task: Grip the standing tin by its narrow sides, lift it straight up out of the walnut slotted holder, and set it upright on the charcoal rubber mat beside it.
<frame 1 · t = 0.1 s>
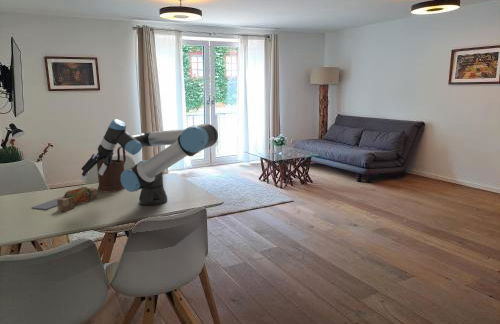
hand: (91, 176, 195), 15 cm above the table, tool tilted 35°, fingers open, 13 cm apart
tin: (78, 203, 200), on the table, touching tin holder
brown tapered container: (115, 187, 234), on the table
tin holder: (78, 204, 199), on the table
mat: (57, 202, 202), on the table
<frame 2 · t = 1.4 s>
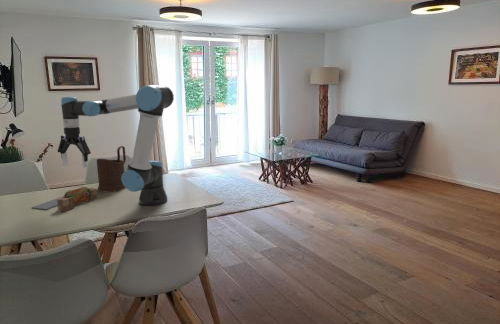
hand: (75, 166, 194), 21 cm above the table, tool pointing down, fingers open, 13 cm apart
nothing on the table moved.
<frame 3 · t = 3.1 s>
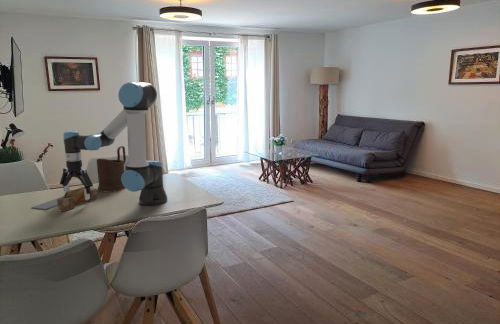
hand: (77, 198, 198), 3 cm above the table, tool pointing down, fingers open, 13 cm apart
nothing on the table moved.
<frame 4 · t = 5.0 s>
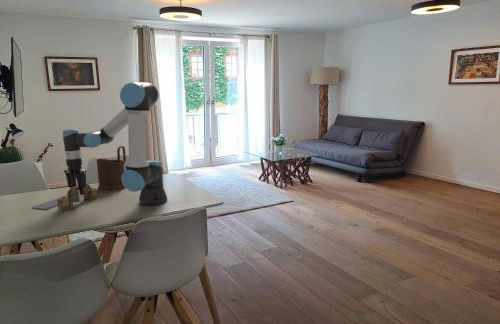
hand: (79, 200, 198), 2 cm above the table, tool pointing down, fingers closed on tin, 3 cm apart
tin: (79, 200, 199), point 2 cm above the table, touching gripper
everything else where it was.
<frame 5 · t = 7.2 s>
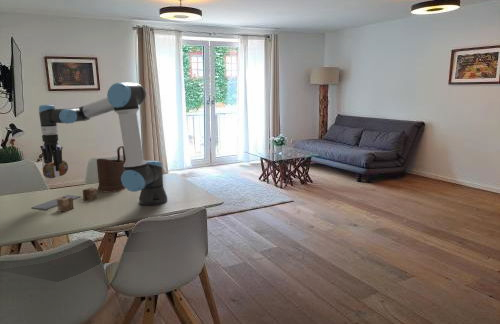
hand: (54, 176, 199), 15 cm above the table, tool pointing down, fingers closed on tin, 3 cm apart
tin: (55, 176, 200), point 15 cm above the table, touching gripper
everything else where it was.
when the fingers open (2 cm above the table, at t = 9.8 s): tin drops 1 cm, resting on mat.
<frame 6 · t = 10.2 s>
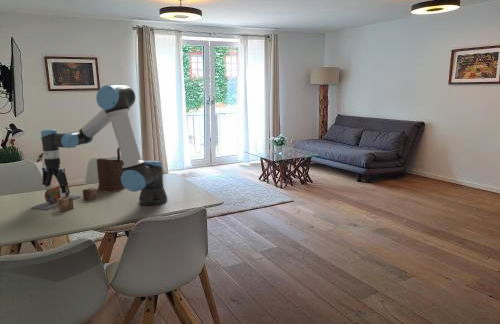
hand: (56, 197, 202), 3 cm above the table, tool pointing down, fingers open, 8 cm apart
tin: (58, 201, 203), resting on mat
everything else where it was.
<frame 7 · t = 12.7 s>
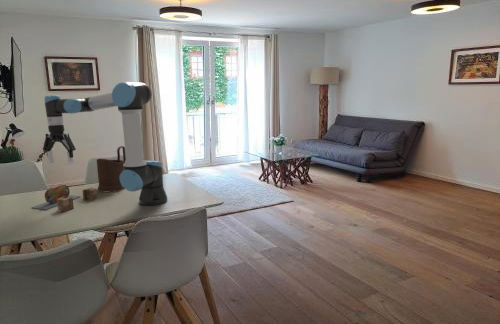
hand: (61, 163, 200), 22 cm above the table, tool pointing down, fingers open, 13 cm apart
nothing on the table moved.
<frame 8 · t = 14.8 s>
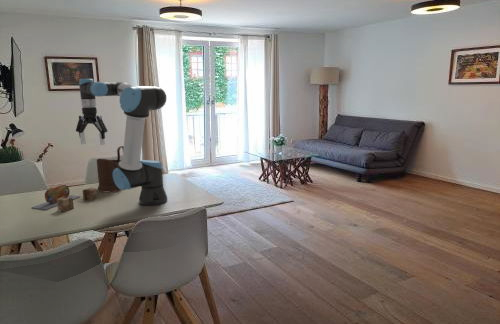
hand: (92, 144, 208), 31 cm above the table, tool pointing down, fingers open, 13 cm apart
nothing on the table moved.
at the end: tin inside the target area on the mat (1.0 cm from its centre), point 0.4 cm above the mat's base; tin tilted 0°; the gripper is holding nothing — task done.
